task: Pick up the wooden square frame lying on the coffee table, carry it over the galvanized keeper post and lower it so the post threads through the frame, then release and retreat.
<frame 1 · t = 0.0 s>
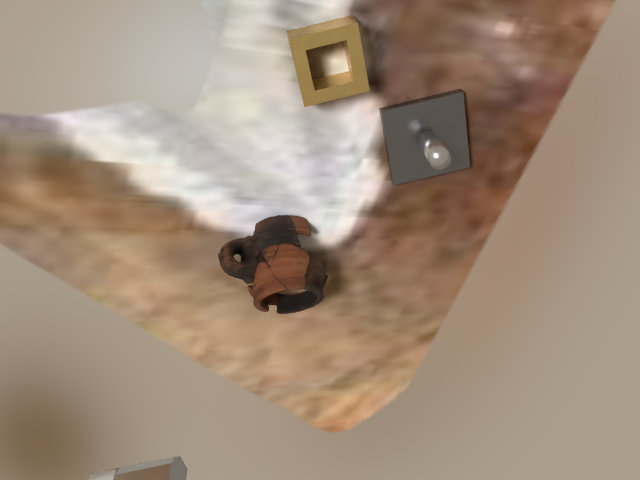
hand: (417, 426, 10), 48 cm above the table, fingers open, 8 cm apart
pottery mug: (273, 249, 64), on the table
wooden square frame: (326, 56, 54), on the table
keeper post: (424, 136, 59), on the table
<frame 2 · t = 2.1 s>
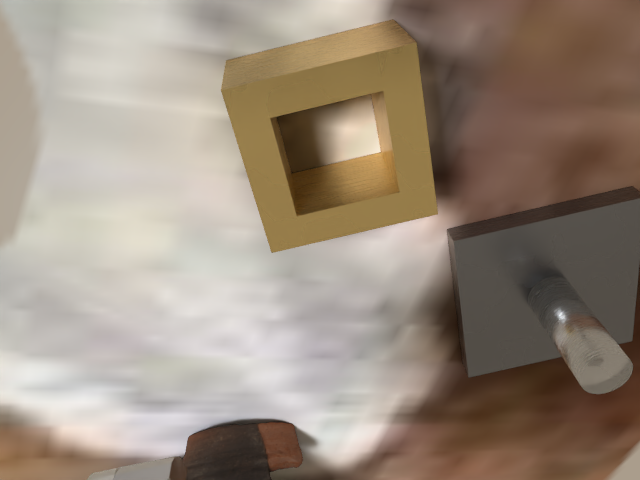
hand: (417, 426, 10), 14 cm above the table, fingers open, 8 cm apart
pottery mug: (228, 471, 32), on the table
wooden square frame: (326, 120, 22), on the table
keeper post: (540, 282, 27), on the table
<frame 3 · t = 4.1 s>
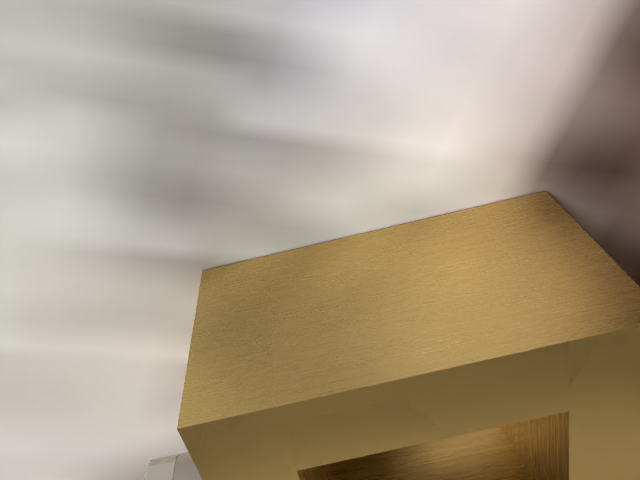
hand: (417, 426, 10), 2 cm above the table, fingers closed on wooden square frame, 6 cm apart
wooden square frame: (397, 360, 12), on the table, touching gripper
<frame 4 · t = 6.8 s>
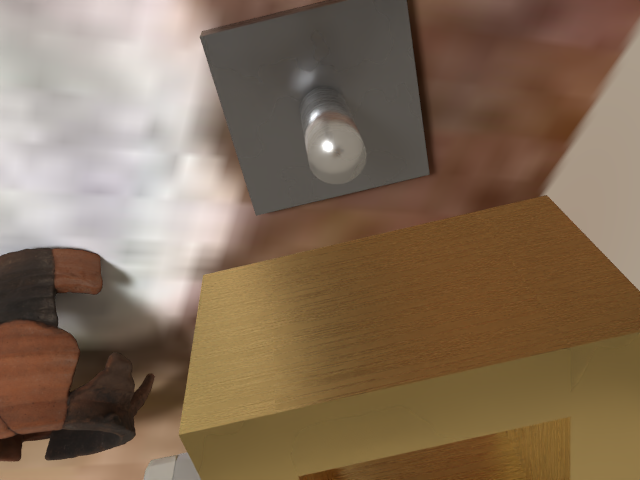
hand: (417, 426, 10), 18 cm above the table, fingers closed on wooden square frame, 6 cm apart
pottery mug: (43, 318, 30), on the table
wooden square frame: (398, 363, 12), point 16 cm above the table, touching gripper
keeper post: (321, 103, 25), on the table
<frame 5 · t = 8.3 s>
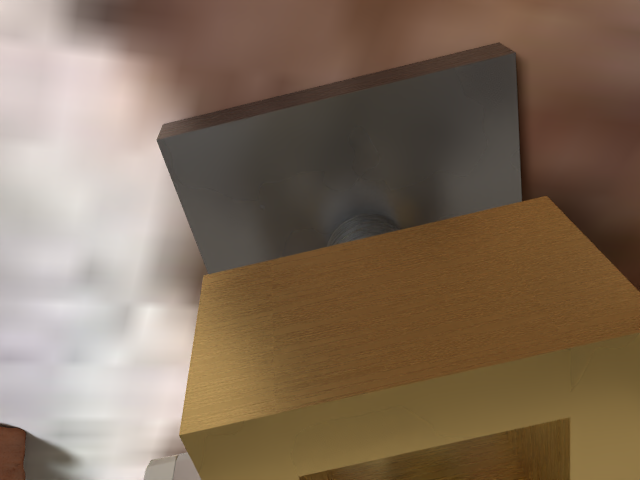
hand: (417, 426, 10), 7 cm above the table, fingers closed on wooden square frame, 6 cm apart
wooden square frame: (398, 364, 12), point 5 cm above the table, touching gripper
keeper post: (360, 229, 16), on the table
when the fingers open (4 cm above the table, at t = 9.7 s): wooden square frame drops 1 cm, resting on keeper post.
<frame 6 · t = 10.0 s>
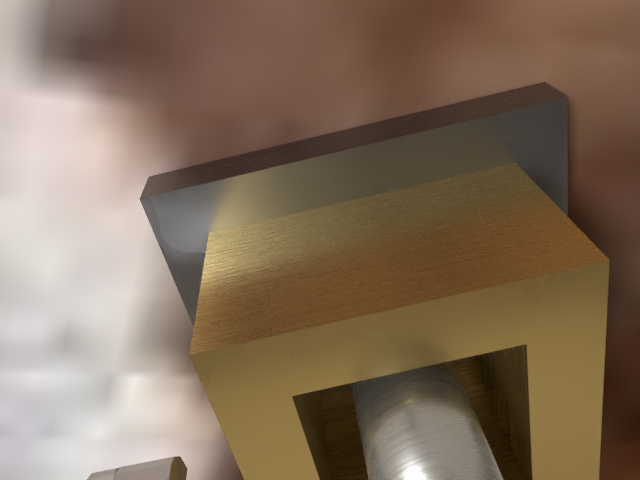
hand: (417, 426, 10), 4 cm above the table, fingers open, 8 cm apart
wooden square frame: (384, 318, 13), point 1 cm above the table, touching keeper post
keeper post: (377, 290, 14), on the table
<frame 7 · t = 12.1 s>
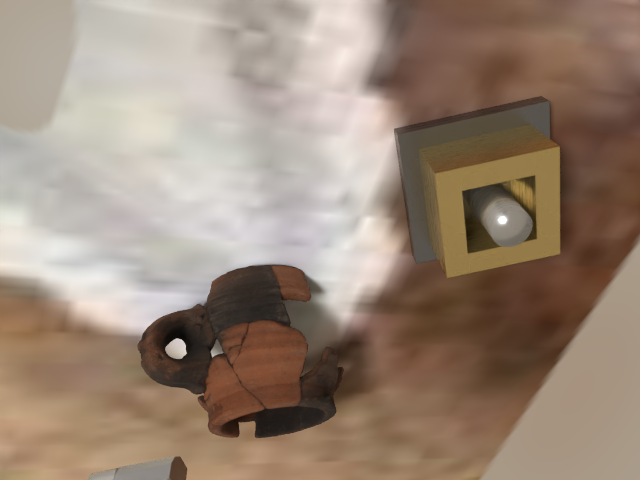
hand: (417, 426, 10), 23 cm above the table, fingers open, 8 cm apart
pottery mug: (247, 322, 37), on the table
wooden square frame: (478, 188, 32), point 1 cm above the table, touching keeper post
keeper post: (473, 180, 33), on the table
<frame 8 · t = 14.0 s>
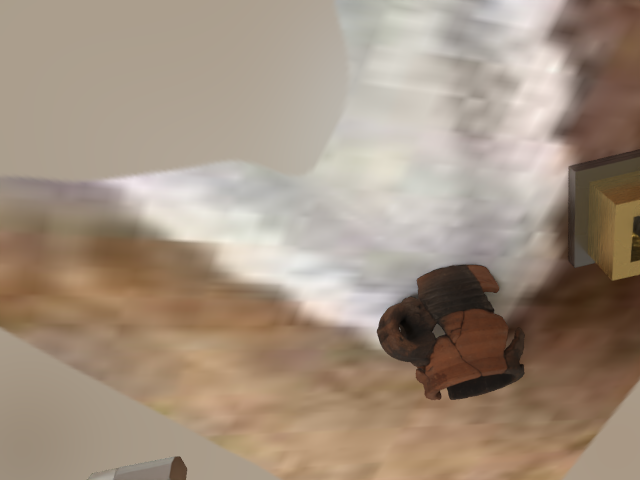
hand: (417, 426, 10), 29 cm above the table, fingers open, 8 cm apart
pottery mug: (437, 309, 46), on the table
wooden square frame: (630, 209, 42), point 1 cm above the table, touching keeper post
keeper post: (623, 203, 43), on the table
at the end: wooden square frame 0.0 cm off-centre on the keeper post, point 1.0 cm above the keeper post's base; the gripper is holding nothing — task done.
